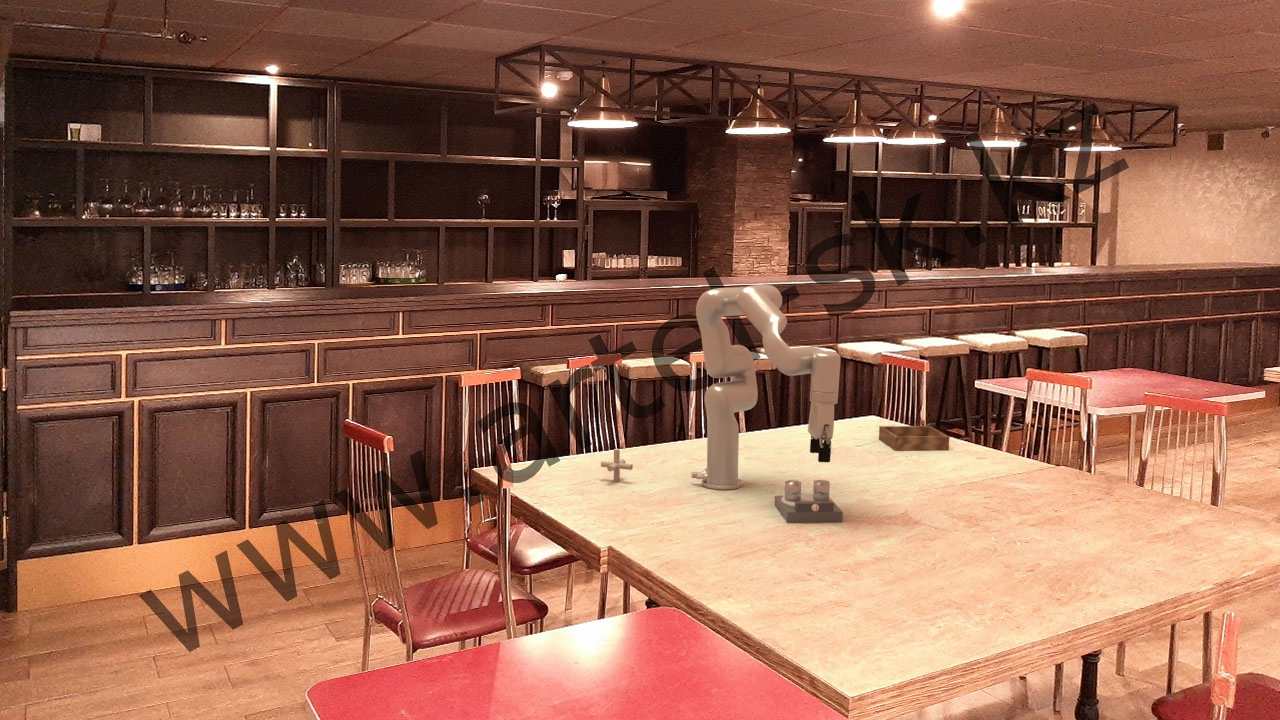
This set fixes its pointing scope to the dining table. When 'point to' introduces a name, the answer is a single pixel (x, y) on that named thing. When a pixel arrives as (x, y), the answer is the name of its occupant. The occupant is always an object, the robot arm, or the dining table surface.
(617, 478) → the pipe connector
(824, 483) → the cylinder
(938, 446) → the brown wooden tray
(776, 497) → the scale
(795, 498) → the cylinder
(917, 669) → the dining table surface
